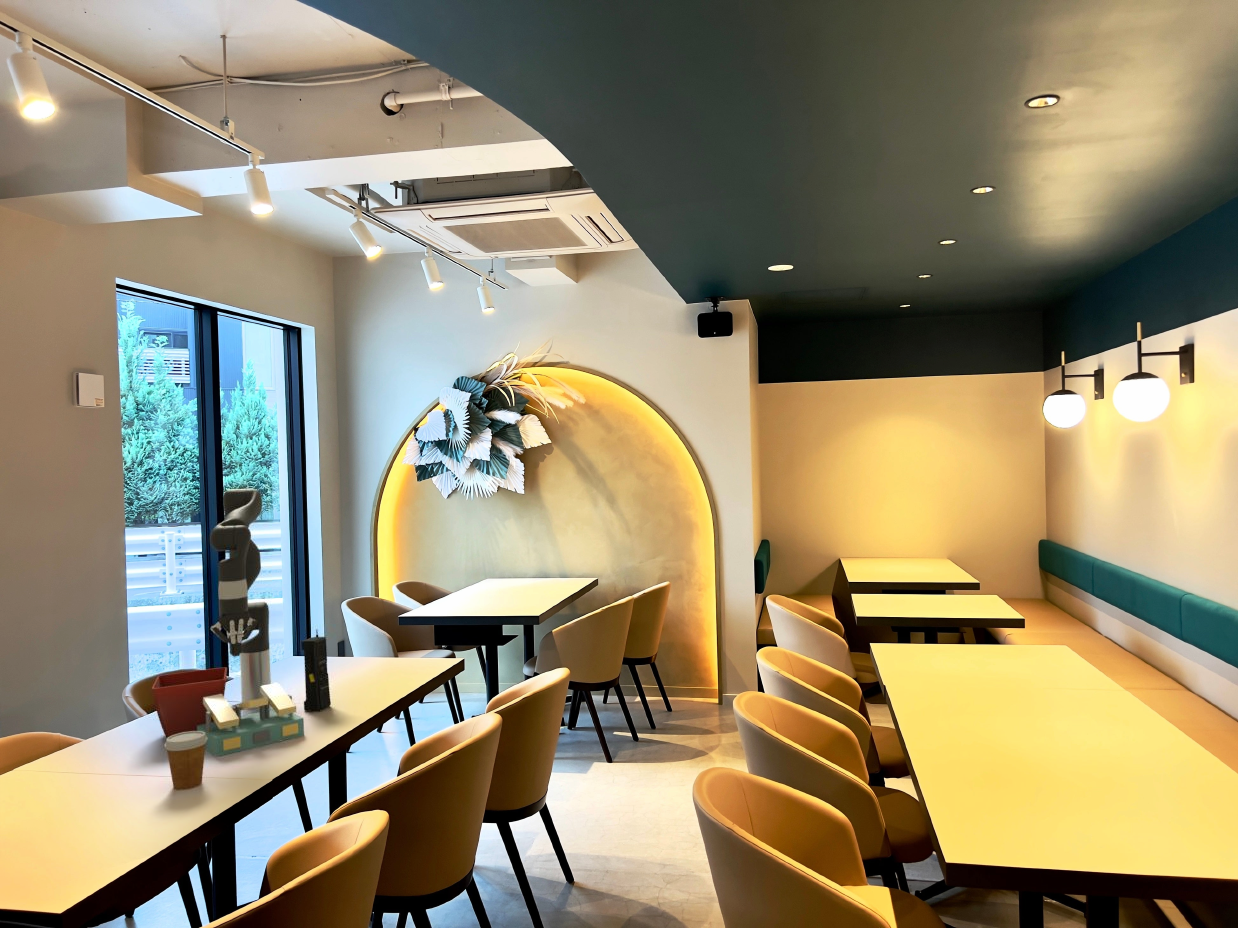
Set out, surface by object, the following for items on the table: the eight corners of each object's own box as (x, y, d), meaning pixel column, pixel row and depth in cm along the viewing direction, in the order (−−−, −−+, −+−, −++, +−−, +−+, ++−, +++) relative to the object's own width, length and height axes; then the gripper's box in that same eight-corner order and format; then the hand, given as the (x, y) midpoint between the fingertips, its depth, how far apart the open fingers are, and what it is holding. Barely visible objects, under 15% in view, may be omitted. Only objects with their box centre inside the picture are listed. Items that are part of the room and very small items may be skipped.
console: (197, 742, 244) (196, 707, 244) (282, 723, 260) (280, 690, 261) (217, 756, 231) (215, 718, 232) (304, 735, 248) (303, 700, 248)
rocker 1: (202, 703, 245) (203, 697, 244) (221, 699, 248) (221, 693, 248) (219, 728, 234) (220, 722, 234) (238, 724, 237) (239, 718, 237)
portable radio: (318, 712, 271) (315, 633, 271) (301, 712, 272) (298, 633, 272) (332, 705, 279) (329, 629, 279) (315, 705, 280) (312, 629, 280)
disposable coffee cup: (176, 779, 215) (174, 731, 215) (215, 776, 216) (213, 729, 216) (158, 793, 206) (157, 743, 206) (200, 790, 206) (198, 740, 206)
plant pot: (160, 729, 259) (158, 674, 259) (229, 720, 267) (227, 666, 267) (153, 747, 242) (151, 688, 242) (227, 736, 249) (225, 679, 249)
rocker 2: (233, 712, 250) (232, 705, 250) (250, 708, 253) (250, 701, 253) (249, 707, 239) (249, 700, 239) (268, 704, 242) (267, 696, 243)
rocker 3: (260, 691, 255) (260, 685, 255) (277, 688, 259) (277, 682, 258) (278, 715, 245) (279, 709, 244) (295, 712, 248) (296, 705, 248)
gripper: (252, 590, 251) (255, 649, 252) (204, 597, 242) (207, 657, 243) (261, 593, 246) (264, 653, 246) (212, 600, 237) (215, 662, 237)
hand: (235, 655), depth 245 cm, fingers closed
